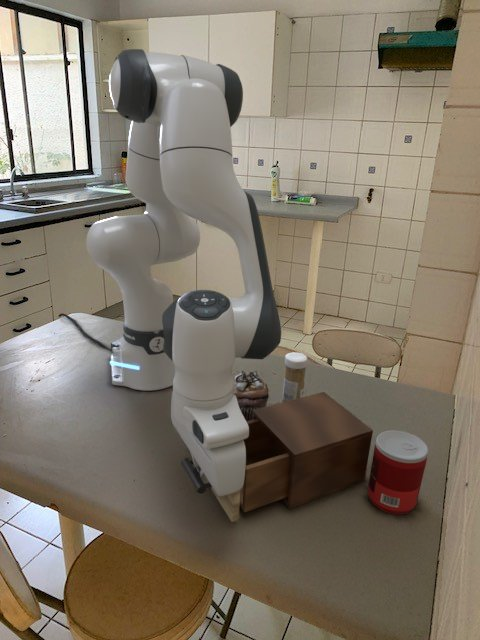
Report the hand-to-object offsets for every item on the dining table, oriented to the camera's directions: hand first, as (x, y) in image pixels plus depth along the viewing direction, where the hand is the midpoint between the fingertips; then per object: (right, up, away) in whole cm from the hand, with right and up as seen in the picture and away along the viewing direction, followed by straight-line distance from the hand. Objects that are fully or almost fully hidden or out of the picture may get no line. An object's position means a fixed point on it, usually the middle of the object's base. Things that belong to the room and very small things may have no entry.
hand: (202, 478), depth 73 cm
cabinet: (+18, -2, +11) cm, 21 cm away
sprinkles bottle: (+17, +5, +28) cm, 33 cm away
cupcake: (+7, +4, +26) cm, 27 cm away
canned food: (+31, -5, +5) cm, 32 cm away
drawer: (+6, -3, +5) cm, 8 cm away
